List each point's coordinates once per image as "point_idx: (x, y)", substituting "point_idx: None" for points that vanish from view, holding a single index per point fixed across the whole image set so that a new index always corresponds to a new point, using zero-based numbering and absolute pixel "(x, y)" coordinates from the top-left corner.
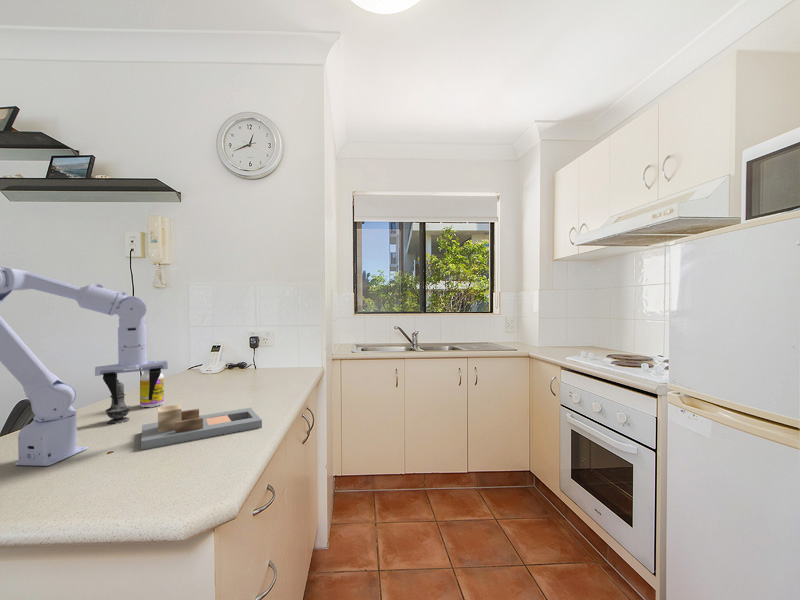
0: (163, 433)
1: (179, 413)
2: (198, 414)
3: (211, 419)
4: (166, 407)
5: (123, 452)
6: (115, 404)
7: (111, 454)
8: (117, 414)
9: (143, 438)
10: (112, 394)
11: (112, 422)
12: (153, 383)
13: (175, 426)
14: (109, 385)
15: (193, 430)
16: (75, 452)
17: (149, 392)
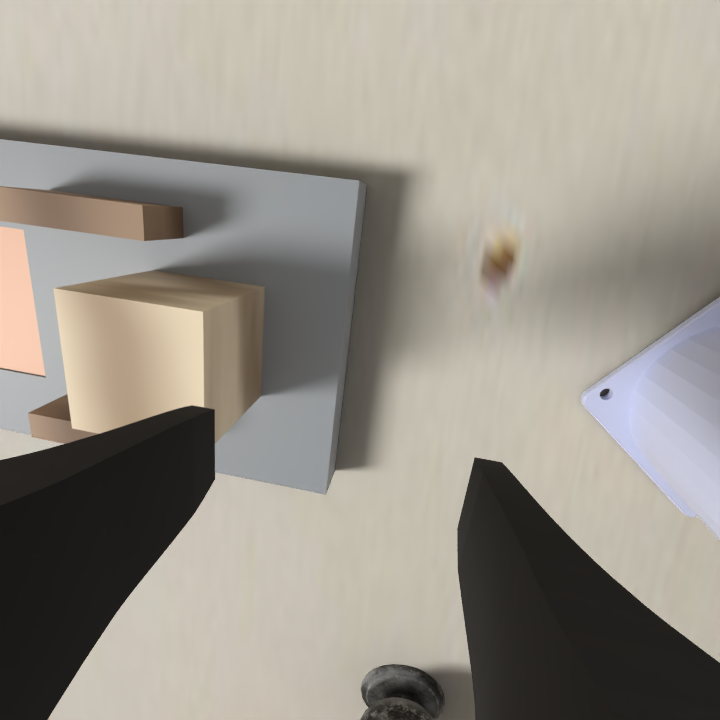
0: (242, 249)
1: (91, 284)
2: (55, 400)
3: (18, 339)
4: (151, 414)
5: (447, 211)
6: (494, 462)
7: (501, 222)
8: (406, 713)
9: (343, 228)
10: (556, 530)
11: (426, 685)
12: (3, 469)
13: (162, 228)
14: (682, 658)
15: (95, 183)
16: (649, 350)
17: (155, 432)
